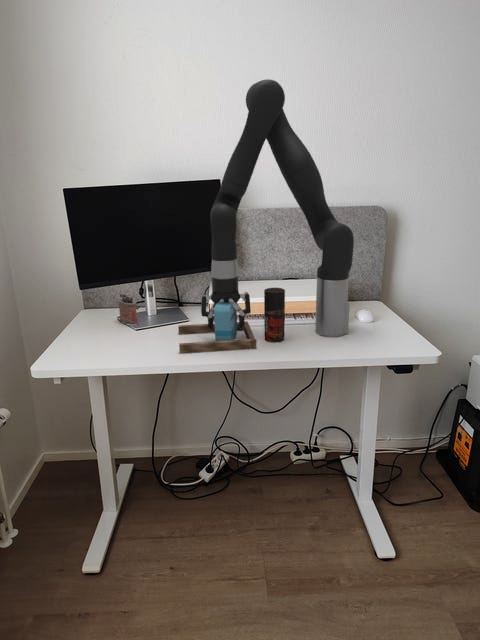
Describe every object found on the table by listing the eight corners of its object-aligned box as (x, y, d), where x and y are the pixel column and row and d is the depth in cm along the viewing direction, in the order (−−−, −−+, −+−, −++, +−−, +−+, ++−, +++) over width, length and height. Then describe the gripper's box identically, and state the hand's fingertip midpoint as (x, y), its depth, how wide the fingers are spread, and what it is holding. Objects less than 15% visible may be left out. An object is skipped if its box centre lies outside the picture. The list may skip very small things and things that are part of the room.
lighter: (140, 324, 167) (138, 294, 164) (132, 327, 165) (129, 297, 161) (126, 319, 172) (123, 290, 169) (117, 322, 170) (114, 292, 167)
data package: (230, 347, 146) (229, 307, 142) (215, 347, 147) (213, 307, 143) (237, 333, 157) (236, 295, 154) (222, 332, 158) (221, 295, 154)
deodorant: (260, 339, 152) (260, 290, 147) (273, 334, 156) (273, 286, 151) (275, 344, 148) (276, 294, 143) (288, 338, 152) (289, 289, 147)
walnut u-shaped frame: (247, 328, 161) (247, 321, 160) (256, 348, 145) (256, 340, 144) (178, 333, 159) (178, 325, 158) (179, 353, 143) (179, 345, 142)
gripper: (247, 270, 150) (248, 322, 155) (199, 272, 149) (201, 325, 154) (251, 276, 143) (252, 331, 148) (200, 278, 142) (202, 334, 147)
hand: (226, 328), depth 151 cm, fingers open, 8 cm apart
